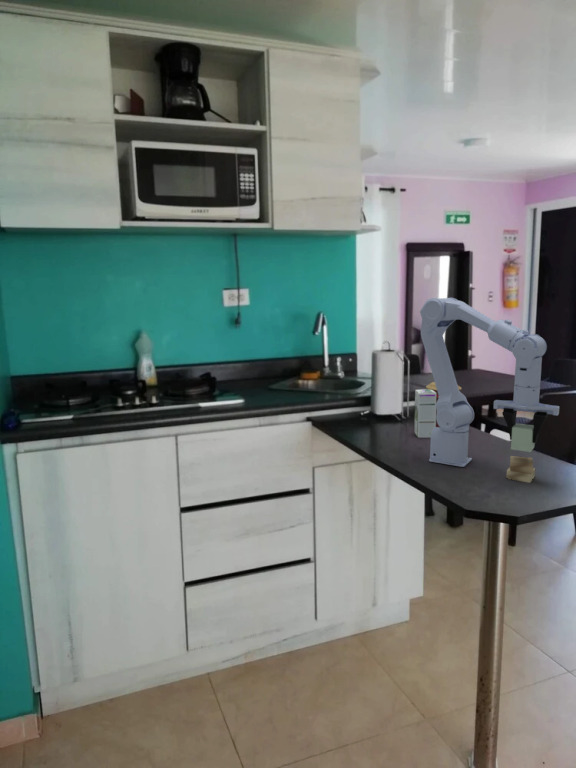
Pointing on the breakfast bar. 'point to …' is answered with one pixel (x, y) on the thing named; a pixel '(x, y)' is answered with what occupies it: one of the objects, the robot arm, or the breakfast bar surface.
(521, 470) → the slab top
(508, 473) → the slab bottom
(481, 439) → the breakfast bar surface
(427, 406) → the syrup box
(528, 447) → the block
